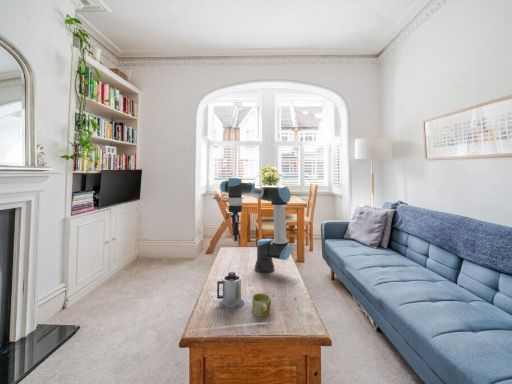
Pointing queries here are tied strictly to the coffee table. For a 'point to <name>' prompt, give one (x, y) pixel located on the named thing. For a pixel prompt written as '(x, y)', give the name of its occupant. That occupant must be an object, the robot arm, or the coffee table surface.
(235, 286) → the grey french press
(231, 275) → the plunger
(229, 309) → the coaster
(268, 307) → the mug
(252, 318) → the coffee table surface
